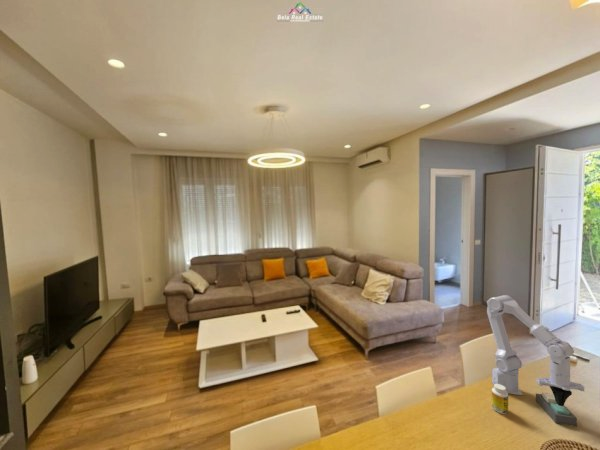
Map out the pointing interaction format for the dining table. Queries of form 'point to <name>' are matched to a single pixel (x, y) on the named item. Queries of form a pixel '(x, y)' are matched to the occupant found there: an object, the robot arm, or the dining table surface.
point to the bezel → (556, 416)
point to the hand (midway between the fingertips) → (559, 404)
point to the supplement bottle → (500, 399)
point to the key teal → (559, 409)
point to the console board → (554, 420)
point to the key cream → (549, 397)
